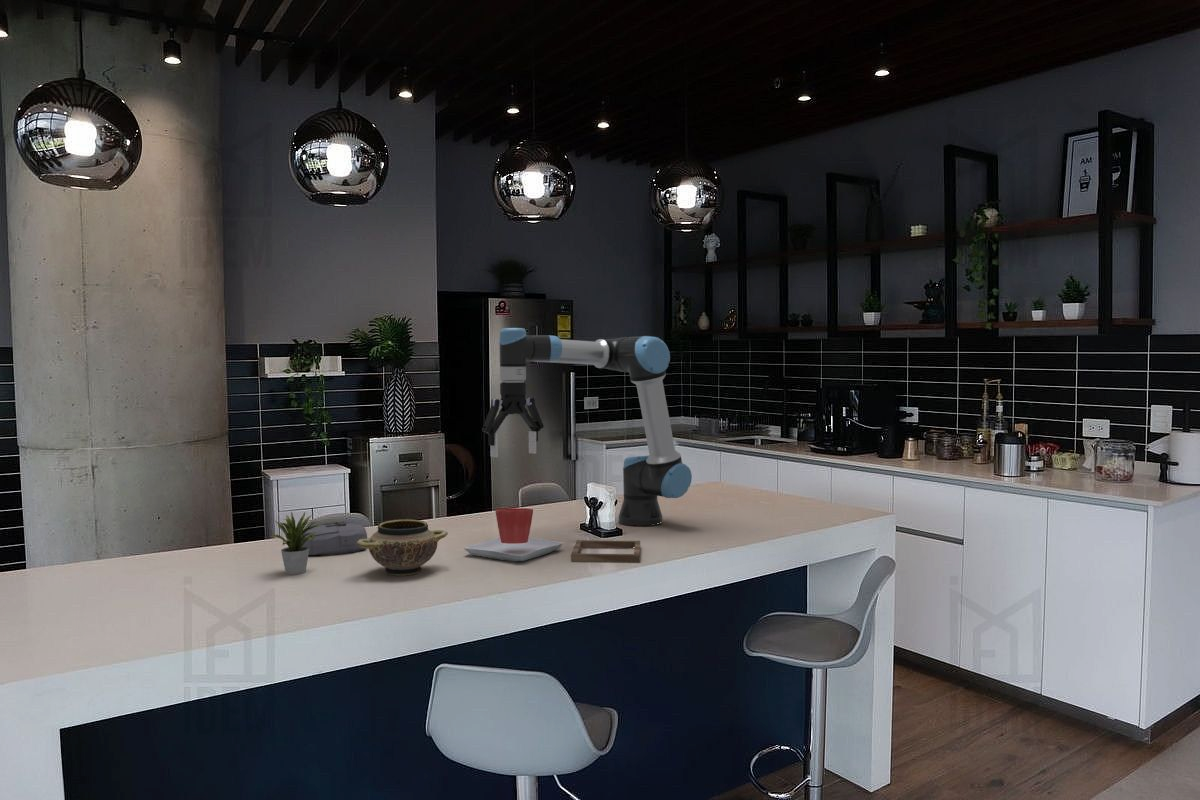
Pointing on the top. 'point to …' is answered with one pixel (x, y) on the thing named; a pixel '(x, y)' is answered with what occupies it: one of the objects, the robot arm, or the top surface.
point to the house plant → (295, 544)
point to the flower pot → (514, 524)
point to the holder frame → (605, 557)
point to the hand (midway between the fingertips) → (513, 455)
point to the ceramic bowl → (402, 545)
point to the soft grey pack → (335, 538)
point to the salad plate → (513, 549)
